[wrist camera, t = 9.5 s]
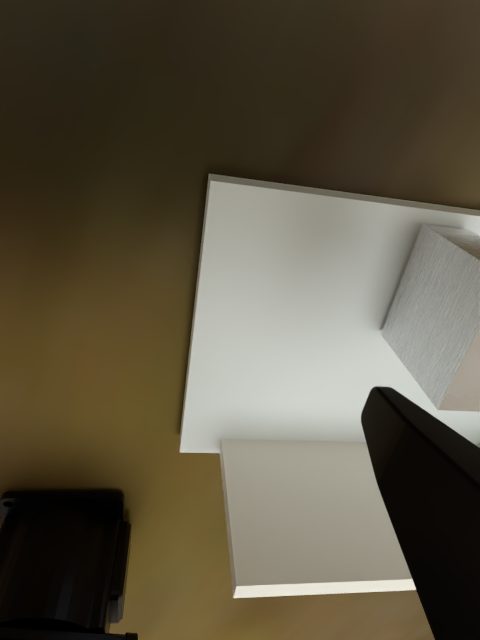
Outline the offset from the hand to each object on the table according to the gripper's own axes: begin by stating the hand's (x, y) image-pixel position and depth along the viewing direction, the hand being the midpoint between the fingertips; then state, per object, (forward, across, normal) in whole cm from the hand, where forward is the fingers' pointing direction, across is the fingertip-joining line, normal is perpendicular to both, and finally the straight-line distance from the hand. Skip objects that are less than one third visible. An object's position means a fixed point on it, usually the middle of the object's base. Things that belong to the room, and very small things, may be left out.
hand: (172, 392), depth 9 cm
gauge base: (+9, -14, +4) cm, 17 cm away
